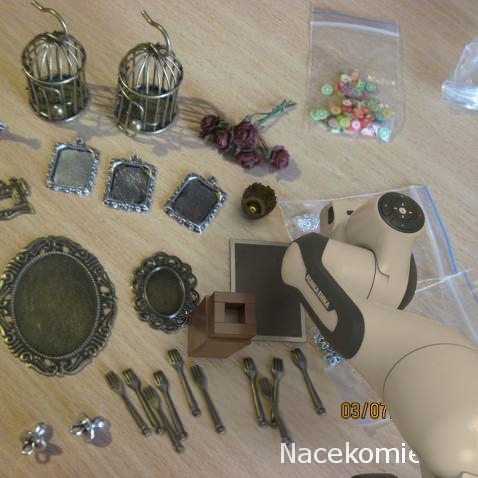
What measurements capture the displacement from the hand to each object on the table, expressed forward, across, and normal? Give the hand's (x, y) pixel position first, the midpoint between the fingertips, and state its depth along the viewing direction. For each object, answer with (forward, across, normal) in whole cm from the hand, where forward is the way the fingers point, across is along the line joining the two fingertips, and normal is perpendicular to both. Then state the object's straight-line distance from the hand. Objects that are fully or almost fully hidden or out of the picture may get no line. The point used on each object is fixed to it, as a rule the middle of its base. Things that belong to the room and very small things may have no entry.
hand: (321, 271), depth 105 cm
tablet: (+16, 0, +6) cm, 17 cm away
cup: (+16, +18, +9) cm, 26 cm away
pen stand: (+16, -11, +19) cm, 27 cm away
